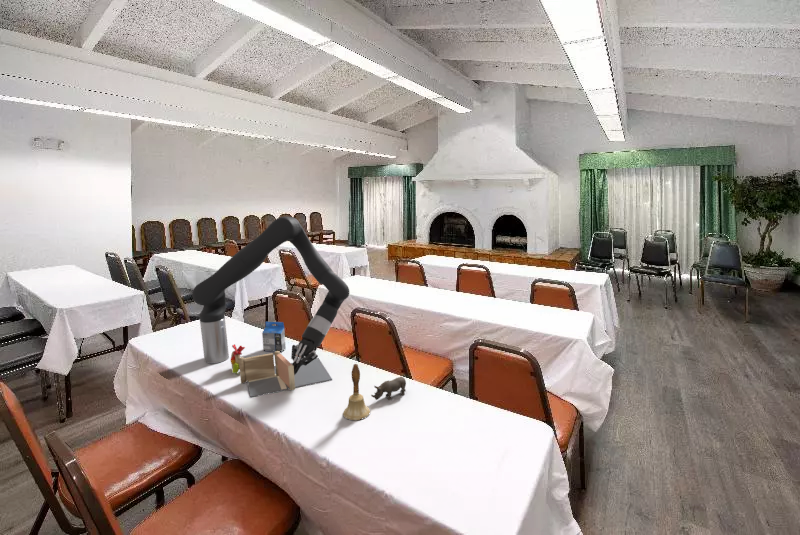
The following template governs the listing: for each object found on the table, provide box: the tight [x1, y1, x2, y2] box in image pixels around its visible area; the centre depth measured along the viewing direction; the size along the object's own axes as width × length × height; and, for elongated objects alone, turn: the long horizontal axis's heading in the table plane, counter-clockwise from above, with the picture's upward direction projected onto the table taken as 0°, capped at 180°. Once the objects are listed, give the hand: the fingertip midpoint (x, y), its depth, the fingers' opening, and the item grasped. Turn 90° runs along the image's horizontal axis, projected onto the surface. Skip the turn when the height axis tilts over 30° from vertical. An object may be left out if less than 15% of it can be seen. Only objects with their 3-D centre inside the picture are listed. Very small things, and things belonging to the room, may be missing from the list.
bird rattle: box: [230, 344, 246, 375], centre depth 154 cm, size 6×11×9 cm
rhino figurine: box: [370, 376, 407, 401], centre depth 133 cm, size 4×14×6 cm, turn 123°
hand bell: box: [342, 363, 371, 421], centre depth 123 cm, size 8×8×16 cm
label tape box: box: [261, 321, 287, 353], centre depth 174 cm, size 9×4×12 cm, turn 80°
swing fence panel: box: [276, 353, 296, 391], centre depth 142 cm, size 2×14×8 cm, turn 34°
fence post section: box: [239, 351, 281, 384], centre depth 147 cm, size 2×14×9 cm, turn 115°
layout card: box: [247, 357, 333, 398], centre depth 150 cm, size 21×28×1 cm
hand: (291, 373), depth 141 cm, fingers closed
